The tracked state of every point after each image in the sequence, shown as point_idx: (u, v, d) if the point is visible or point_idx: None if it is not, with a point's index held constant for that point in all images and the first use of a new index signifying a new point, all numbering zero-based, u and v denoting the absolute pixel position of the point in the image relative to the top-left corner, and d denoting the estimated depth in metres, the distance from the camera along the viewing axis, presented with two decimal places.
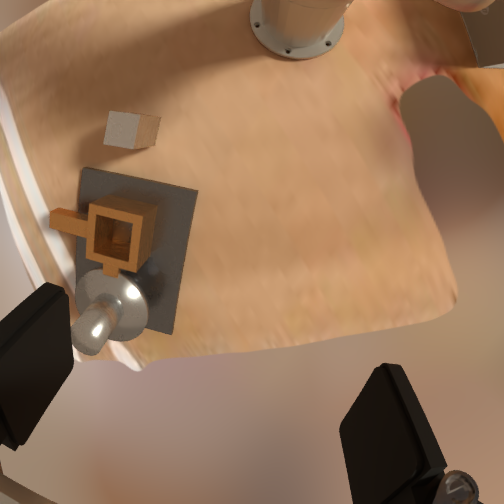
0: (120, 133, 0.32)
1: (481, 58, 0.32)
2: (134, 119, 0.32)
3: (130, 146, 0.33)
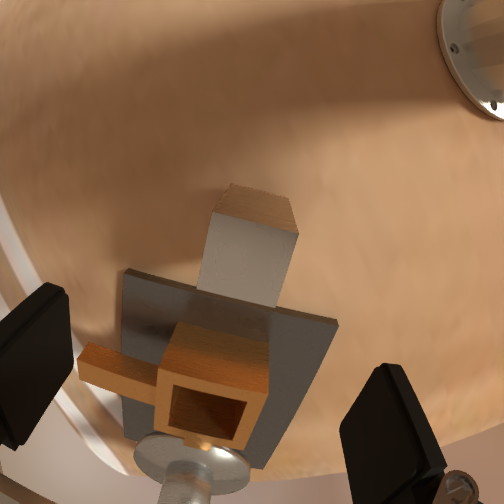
0: (244, 271, 0.15)
1: None
2: (283, 242, 0.15)
3: (268, 301, 0.16)
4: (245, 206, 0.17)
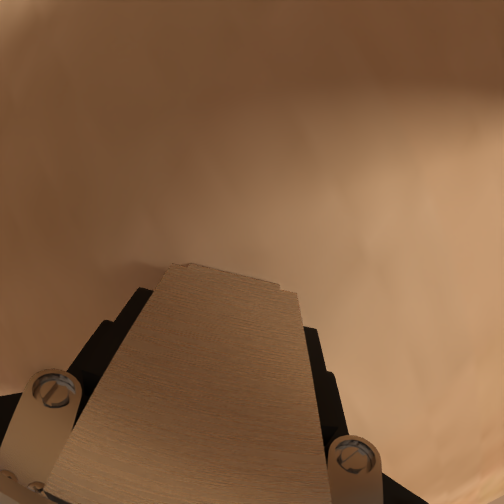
0: None
1: None
2: None
3: None
4: (173, 404, 0.05)
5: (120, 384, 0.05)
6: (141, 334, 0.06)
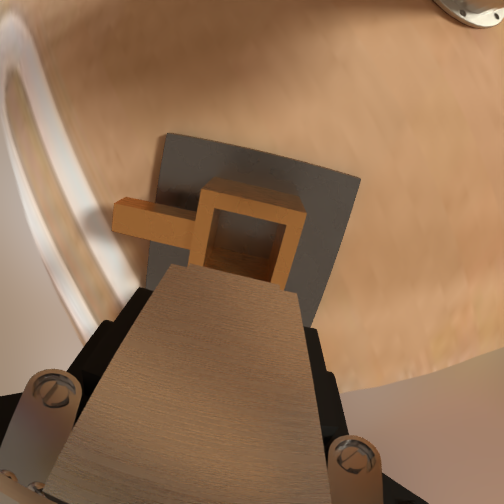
0: None
1: None
2: None
3: None
4: (172, 405, 0.05)
5: (119, 385, 0.05)
6: (141, 334, 0.06)
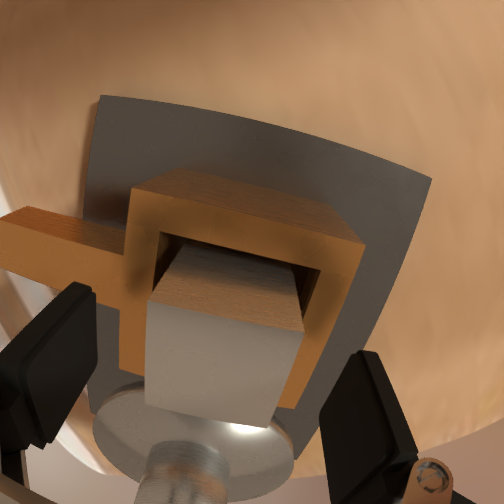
0: (214, 387, 0.09)
1: None
2: (277, 347, 0.08)
3: (256, 422, 0.09)
4: (213, 272, 0.10)
5: (183, 264, 0.10)
6: (190, 247, 0.12)
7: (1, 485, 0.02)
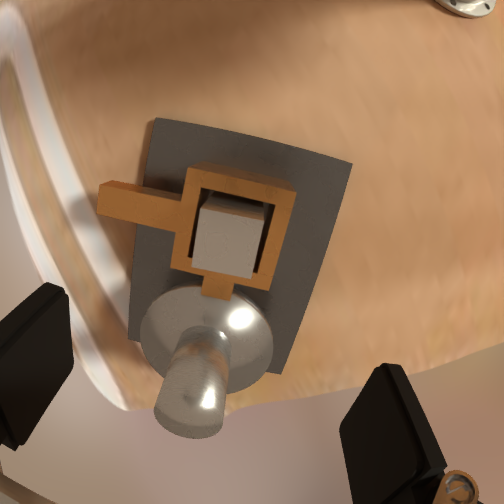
0: (226, 251, 0.21)
1: None
2: (253, 228, 0.20)
3: (245, 274, 0.21)
4: (226, 204, 0.22)
5: (212, 201, 0.22)
6: (213, 197, 0.24)
7: (1, 485, 0.02)
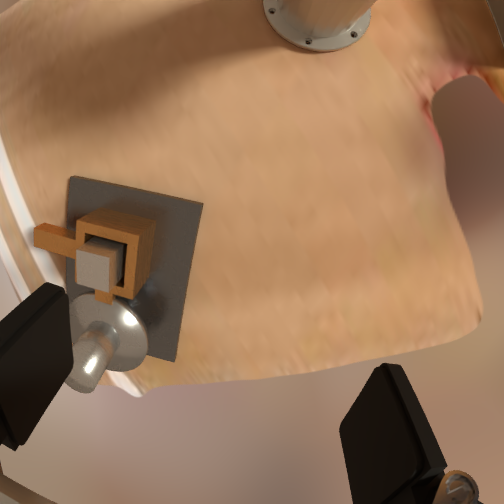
0: (92, 275, 0.31)
1: None
2: (104, 261, 0.30)
3: (105, 289, 0.31)
4: (97, 244, 0.32)
5: (90, 242, 0.32)
6: (95, 237, 0.33)
7: (1, 485, 0.02)
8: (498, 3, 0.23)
